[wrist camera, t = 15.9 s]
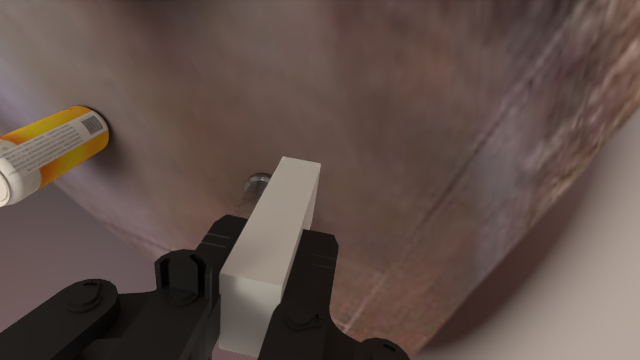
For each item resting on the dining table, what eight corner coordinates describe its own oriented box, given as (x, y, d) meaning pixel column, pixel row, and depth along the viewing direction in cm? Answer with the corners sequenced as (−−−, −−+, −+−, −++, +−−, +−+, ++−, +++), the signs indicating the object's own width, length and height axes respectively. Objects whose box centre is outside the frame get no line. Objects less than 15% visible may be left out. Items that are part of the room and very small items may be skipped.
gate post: (239, 184, 49) (157, 303, 31) (265, 166, 47) (194, 282, 29) (261, 209, 51) (196, 338, 33) (288, 193, 49) (234, 320, 31)
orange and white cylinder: (57, 120, 49) (-62, 173, 35) (85, 94, 46) (-32, 141, 33) (94, 157, 50) (-7, 220, 37) (122, 134, 48) (25, 192, 35)
